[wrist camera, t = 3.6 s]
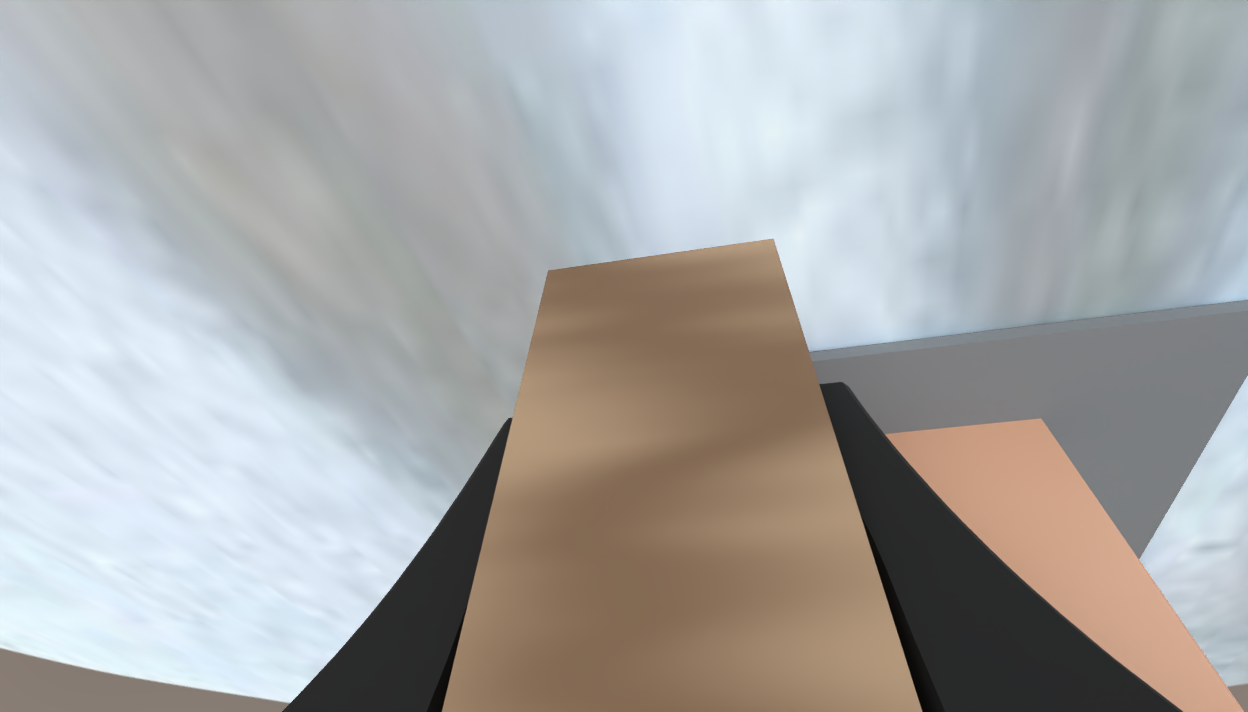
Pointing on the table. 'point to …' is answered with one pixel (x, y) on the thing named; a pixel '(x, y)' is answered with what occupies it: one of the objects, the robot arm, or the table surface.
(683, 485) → the wooden block
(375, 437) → the table surface
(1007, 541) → the flat slab
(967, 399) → the rubber mat
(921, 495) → the robot arm
